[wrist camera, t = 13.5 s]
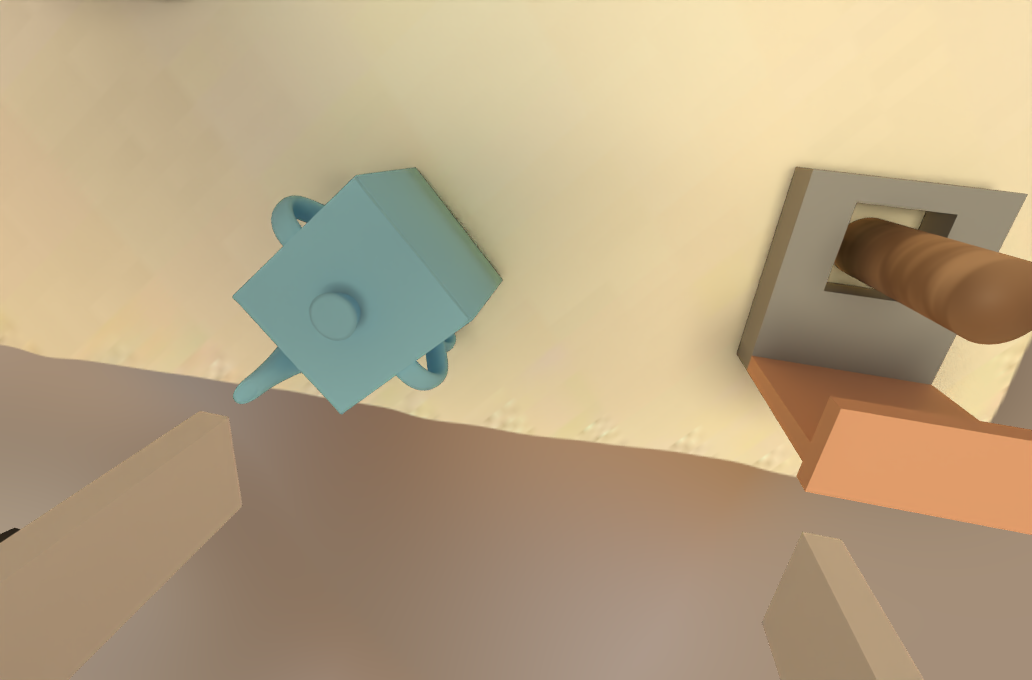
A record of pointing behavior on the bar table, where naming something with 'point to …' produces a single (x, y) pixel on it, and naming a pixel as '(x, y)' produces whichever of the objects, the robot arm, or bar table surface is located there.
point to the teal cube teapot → (365, 289)
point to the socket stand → (879, 361)
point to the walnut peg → (942, 279)
